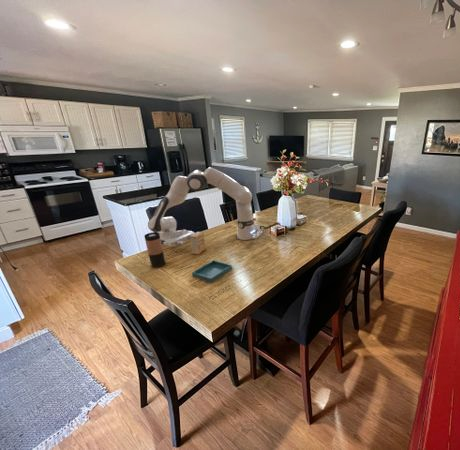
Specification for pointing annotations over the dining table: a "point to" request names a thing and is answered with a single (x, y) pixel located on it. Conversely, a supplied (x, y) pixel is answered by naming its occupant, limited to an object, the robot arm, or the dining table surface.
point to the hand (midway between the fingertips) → (189, 240)
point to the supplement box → (197, 242)
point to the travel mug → (155, 249)
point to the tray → (212, 271)
